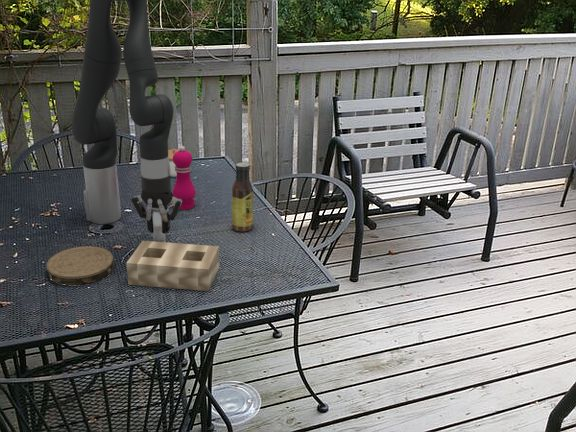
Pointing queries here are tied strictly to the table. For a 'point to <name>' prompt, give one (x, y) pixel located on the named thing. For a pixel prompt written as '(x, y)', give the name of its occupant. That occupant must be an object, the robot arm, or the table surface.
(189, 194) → the pepper mill
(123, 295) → the table surface
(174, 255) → the hole block
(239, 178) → the sauce bottle
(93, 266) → the cork coaster
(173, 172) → the lidded jar
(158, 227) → the clevis pin
